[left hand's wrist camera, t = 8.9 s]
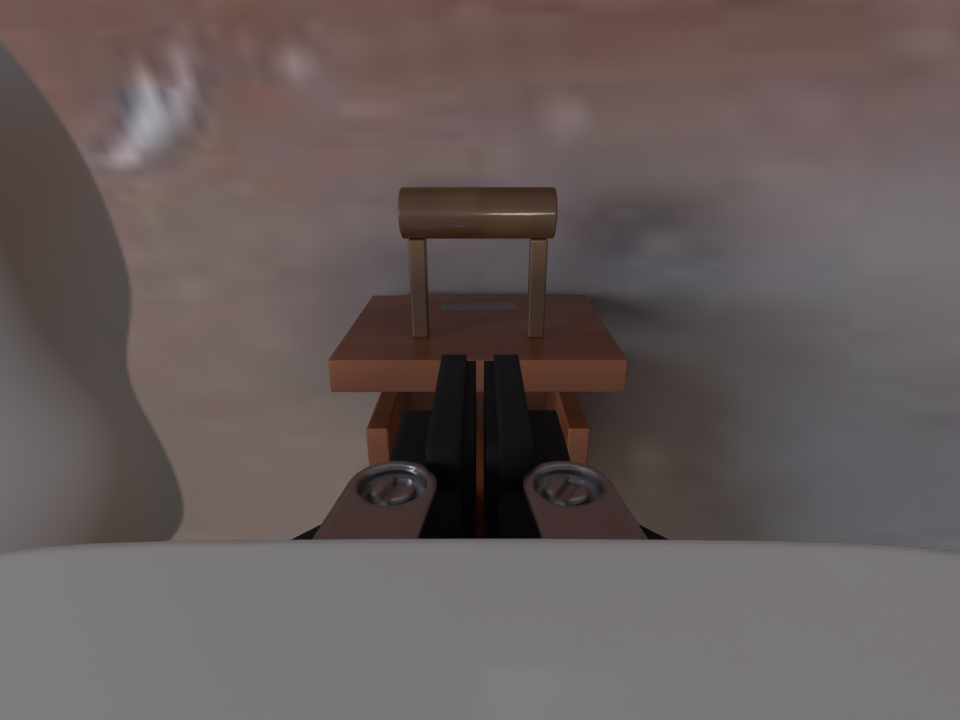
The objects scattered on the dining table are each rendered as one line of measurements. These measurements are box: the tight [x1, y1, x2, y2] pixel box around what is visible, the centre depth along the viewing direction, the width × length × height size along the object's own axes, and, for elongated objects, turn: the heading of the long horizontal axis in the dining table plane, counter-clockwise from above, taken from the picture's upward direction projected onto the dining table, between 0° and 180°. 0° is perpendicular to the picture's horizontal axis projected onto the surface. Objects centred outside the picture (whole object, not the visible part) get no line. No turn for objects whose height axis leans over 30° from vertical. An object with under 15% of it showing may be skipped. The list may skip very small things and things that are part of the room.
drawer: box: [328, 187, 628, 539], centre depth 25 cm, size 25×10×8 cm, turn 0°
